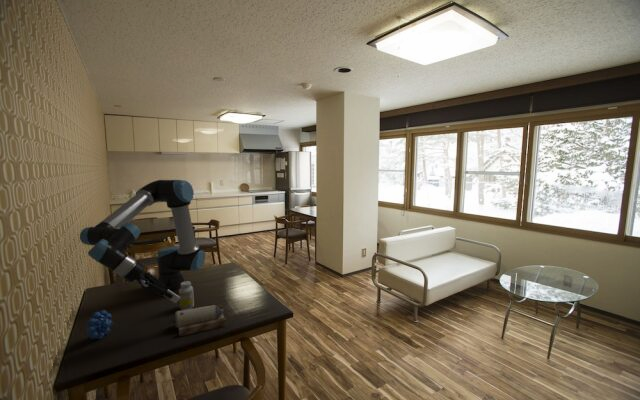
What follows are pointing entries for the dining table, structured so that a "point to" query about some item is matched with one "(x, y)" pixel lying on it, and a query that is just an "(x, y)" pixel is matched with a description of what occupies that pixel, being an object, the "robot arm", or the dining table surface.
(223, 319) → the cradle
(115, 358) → the dining table surface
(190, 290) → the supplement bottle
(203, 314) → the aerosol can
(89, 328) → the grapes
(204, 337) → the dining table surface
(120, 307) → the dining table surface
